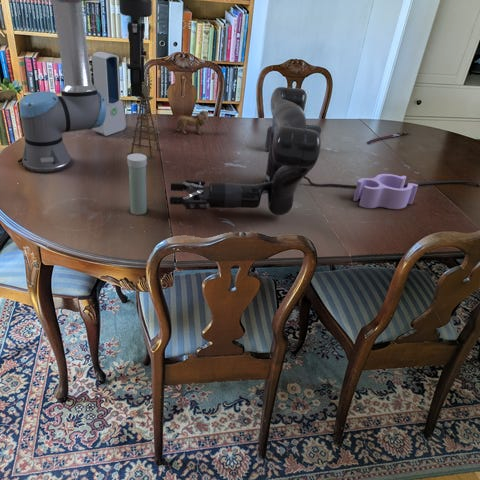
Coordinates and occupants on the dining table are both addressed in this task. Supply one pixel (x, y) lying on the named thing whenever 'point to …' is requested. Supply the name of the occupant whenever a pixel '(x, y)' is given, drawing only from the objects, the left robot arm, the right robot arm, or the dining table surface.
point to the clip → (384, 192)
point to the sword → (386, 137)
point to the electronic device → (109, 92)
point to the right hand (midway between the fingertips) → (170, 193)
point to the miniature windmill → (145, 98)
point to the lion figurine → (193, 121)
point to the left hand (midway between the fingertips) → (138, 88)
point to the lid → (137, 160)
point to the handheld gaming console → (310, 127)
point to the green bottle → (137, 190)
